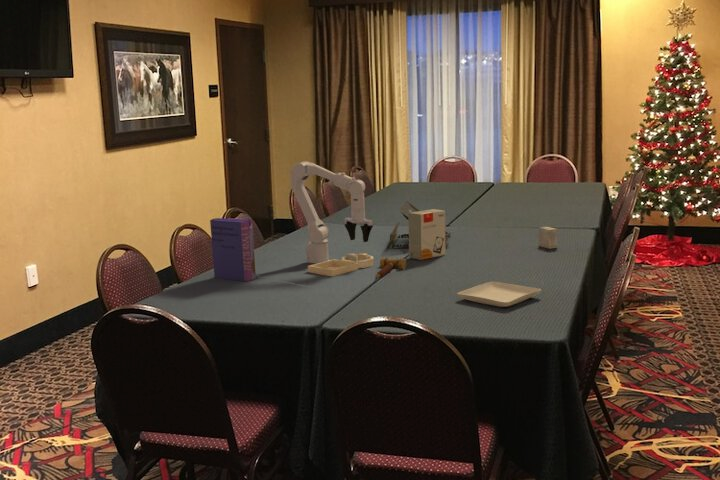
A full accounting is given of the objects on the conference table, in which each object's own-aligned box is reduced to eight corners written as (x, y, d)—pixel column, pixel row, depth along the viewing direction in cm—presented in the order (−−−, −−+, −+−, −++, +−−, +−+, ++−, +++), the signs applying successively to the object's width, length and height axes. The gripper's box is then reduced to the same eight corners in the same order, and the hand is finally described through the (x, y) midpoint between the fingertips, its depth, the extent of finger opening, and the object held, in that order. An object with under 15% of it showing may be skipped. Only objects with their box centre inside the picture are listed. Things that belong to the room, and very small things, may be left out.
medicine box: (557, 248, 349) (557, 229, 347) (548, 249, 347) (549, 230, 346) (546, 245, 356) (547, 226, 355) (538, 246, 355) (538, 227, 353)
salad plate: (455, 301, 270) (455, 292, 269) (492, 289, 285) (492, 280, 284) (506, 312, 255) (506, 302, 254) (542, 298, 270) (542, 288, 269)
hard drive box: (420, 260, 335) (419, 214, 331) (408, 258, 340) (407, 212, 337) (446, 254, 344) (445, 209, 341) (433, 252, 350) (433, 208, 346)
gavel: (388, 272, 303) (364, 270, 307) (389, 283, 305) (365, 282, 308) (406, 257, 322) (383, 256, 326) (406, 268, 323) (383, 266, 327)
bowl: (335, 267, 329) (335, 258, 328) (357, 261, 338) (357, 253, 337) (358, 271, 320) (358, 262, 319) (379, 265, 329) (379, 257, 328)
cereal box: (255, 279, 313) (252, 219, 309) (248, 281, 309) (244, 221, 305) (222, 275, 322) (217, 217, 318) (214, 277, 318) (210, 219, 314)
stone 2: (355, 265, 328) (355, 254, 328) (363, 263, 331) (362, 252, 330) (363, 266, 325) (362, 255, 324) (370, 264, 328) (370, 253, 327)
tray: (308, 273, 319) (307, 265, 319) (334, 266, 330) (334, 259, 330) (332, 277, 310) (331, 270, 309) (358, 270, 321) (358, 263, 320)
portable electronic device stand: (448, 249, 357) (447, 210, 354) (387, 250, 362) (386, 211, 358) (451, 236, 389) (450, 199, 386) (395, 236, 394) (394, 200, 390)
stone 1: (343, 265, 329) (343, 254, 328) (351, 263, 332) (350, 252, 331) (351, 266, 326) (351, 255, 325) (358, 264, 329) (358, 254, 328)
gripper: (338, 208, 331) (340, 240, 334) (364, 211, 321) (365, 244, 324) (350, 206, 336) (351, 237, 339) (375, 209, 326) (376, 241, 329)
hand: (359, 240), depth 332 cm, fingers open, 7 cm apart
